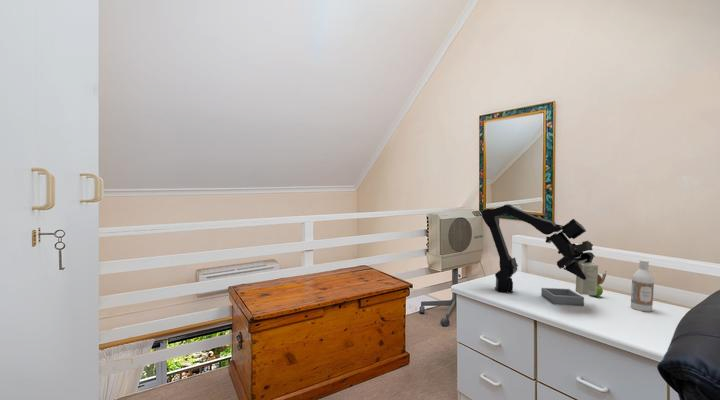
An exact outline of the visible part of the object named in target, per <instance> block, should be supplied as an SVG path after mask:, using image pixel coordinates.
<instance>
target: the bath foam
mask: <svg viewBox="0 0 720 400" xmlns="http://www.w3.org/2000/svg"><path fill="white" fill-rule="evenodd" d="M649 263H650V261H649V260H646V259H639V263H638V264H639V265H638V269H637V270H635V272H634V273H633V276H632V279H631V295H630V307H631V308H632V309H633V310H636V311H640V312H645V313H646V312H648V313H649V312H652V311H653V303H654V288H655V279H654V277H653V275H652V273H651V272H650V270H649Z"/></svg>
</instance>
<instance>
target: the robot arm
mask: <svg viewBox="0 0 720 400" xmlns="http://www.w3.org/2000/svg"><path fill="white" fill-rule="evenodd" d="M506 214H508V215H510V216H512V217H514V218H516V219H518V220H520V221H522V222H525V223H526V224H529V225H530V226H532V227H533V228H534V229H536V230H537V231H539V232H540V233H541V234H543V235H545V237H546V239H545V243H547V244H551V243H552V244H553V245H554V246H555V248H556V249H557V253H558V255H562V258H560V259H558V261H556V266H557V267H558V268H559V270H560V269H563V271H567V272H569V273H571V274H573V275H574V276H575V277H576V276H578V277H580V278H581V279H583V280H585V279H586V277H585V275H584V273H583V272H582V270H581V269H580V267H579V266H578V262H580V263H593V260H594V258H595V255H594V253H593V252H590V251H593V246H594V245H593V243H592V242H591V241H589V240H585V241H582V243H580V244H577V243H572V242H571V241H570V239H573V240H575V239H576V238H579V237H580V236H581V235H583V234H585V232H587V229H586V228H585V227H584V226H583V225H582V224H581V223H580V222H579V221H577V220H576V219H575V218H572V219H571V220H570V221H568V222H567V223H566V224H564V225H562V224H557V223H556V222H555V221H553V220H550V219H547V218H543V217H538V216H535V215H533V214H530V213H529V212H526V211H524V210H523V209H520V208H518V207H515V206H513V205H512V204H504V205H502V206H498V207H496V208H486V209H484V210H483V211H482V212H481V217H482V219H483V221H484V223H485V224H486V225H487V227H488V228H489V231H490V232H491V236H492V240H493V241H494V245H495V248H496V251H497V254H498V257H499V262H498V263H499V270H498V271H497V272H496V273H495V274H494V275H495V287H494V289H495V290H496V291H497V293H509V294H510V293H511V294H512V293H514V292H513V289H514V281H513V278H512V276H513V275H515V274H516V272H517V271H518V267H519V265H518V263H517V260H516V259H517V258H516V257H511V255H510V252H509V251H508V250H509V249H508V247H507V244H506V241H505V239H504V236H503V233H502V229H501V226H500V216H502V215H506ZM553 233H554V234H553ZM547 235H550V236H547Z"/></svg>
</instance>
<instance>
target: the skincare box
mask: <svg viewBox="0 0 720 400" xmlns="http://www.w3.org/2000/svg"><path fill="white" fill-rule="evenodd" d="M578 266H579V267H580V269H581V270H582V272H583V273H584V275H585V277H586V279H585V280H583V279H581V278H580V277H578V276H576V275H575V292H576V293H577V294H579V295H581V296H582V295H585V296H593V295H597V278H598V274H599V265H598V264H597V263H596V264H595V263H594V262H592V263H580V262H578Z"/></svg>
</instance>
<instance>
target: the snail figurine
mask: <svg viewBox="0 0 720 400" xmlns="http://www.w3.org/2000/svg"><path fill="white" fill-rule="evenodd" d="M604 272H605V273H602V275H600V274H599V273H598V278H597V295H592V296H593V297H600V296H602V295H603V293H604V290H603V287H602V286H601V285H602V284H604V282H605V280H606V277H607V271H606V270H605V271H604Z"/></svg>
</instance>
